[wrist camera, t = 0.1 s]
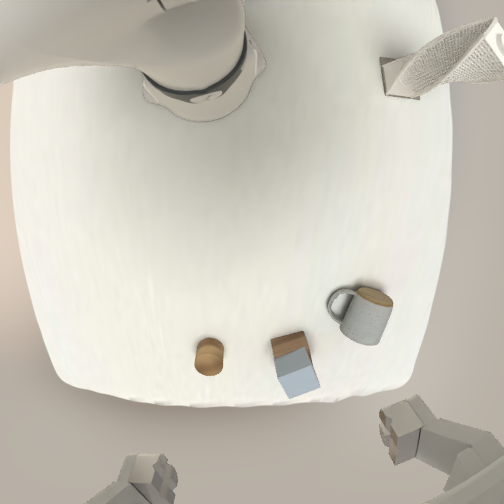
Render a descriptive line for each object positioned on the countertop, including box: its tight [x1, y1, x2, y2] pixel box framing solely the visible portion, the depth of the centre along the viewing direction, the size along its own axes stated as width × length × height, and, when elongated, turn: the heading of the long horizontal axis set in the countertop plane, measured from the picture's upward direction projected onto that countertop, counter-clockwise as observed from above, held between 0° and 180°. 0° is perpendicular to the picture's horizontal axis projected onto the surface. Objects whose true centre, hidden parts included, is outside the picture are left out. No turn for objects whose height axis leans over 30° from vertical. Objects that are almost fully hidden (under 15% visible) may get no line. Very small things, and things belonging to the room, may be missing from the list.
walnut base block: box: [271, 331, 313, 365], centre depth 51 cm, size 6×6×5 cm
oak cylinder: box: [195, 338, 224, 376], centre depth 50 cm, size 5×5×5 cm
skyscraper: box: [380, 17, 504, 100], centre depth 27 cm, size 8×8×28 cm
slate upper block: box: [274, 347, 320, 399], centre depth 46 cm, size 6×6×5 cm
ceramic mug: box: [328, 287, 393, 346], centre depth 48 cm, size 11×8×8 cm
